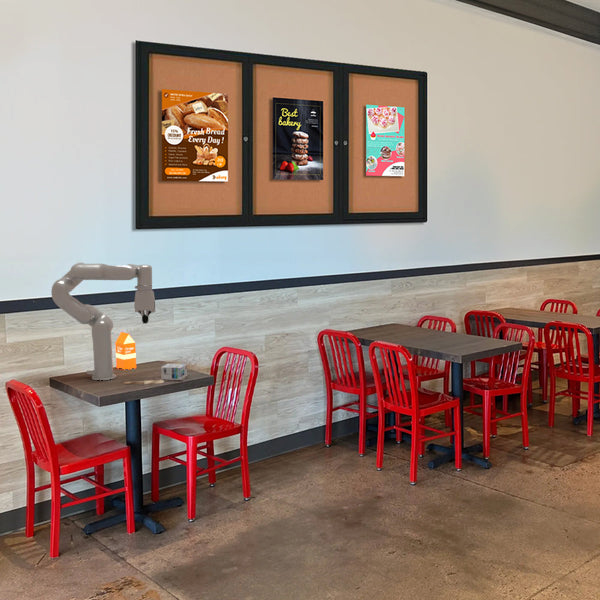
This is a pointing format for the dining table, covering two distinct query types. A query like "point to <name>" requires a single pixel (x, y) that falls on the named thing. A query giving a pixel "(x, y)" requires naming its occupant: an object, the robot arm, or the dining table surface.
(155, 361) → the dining table surface
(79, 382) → the dining table surface
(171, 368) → the light bulb box
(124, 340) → the orange juice
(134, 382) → the beech turner
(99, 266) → the robot arm
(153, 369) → the dining table surface
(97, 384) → the dining table surface
